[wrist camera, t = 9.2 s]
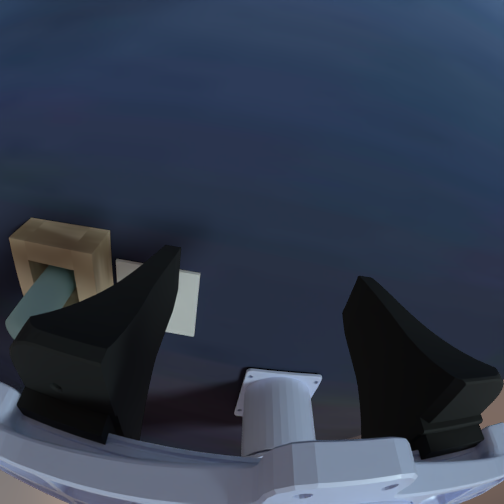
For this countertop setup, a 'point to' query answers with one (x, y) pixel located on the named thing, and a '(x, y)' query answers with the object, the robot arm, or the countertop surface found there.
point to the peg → (42, 297)
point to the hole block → (63, 255)
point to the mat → (185, 299)
